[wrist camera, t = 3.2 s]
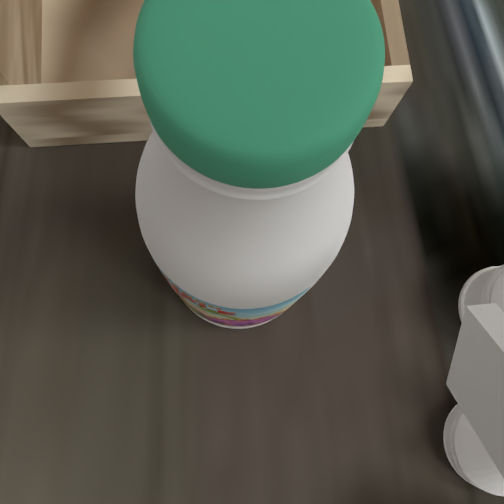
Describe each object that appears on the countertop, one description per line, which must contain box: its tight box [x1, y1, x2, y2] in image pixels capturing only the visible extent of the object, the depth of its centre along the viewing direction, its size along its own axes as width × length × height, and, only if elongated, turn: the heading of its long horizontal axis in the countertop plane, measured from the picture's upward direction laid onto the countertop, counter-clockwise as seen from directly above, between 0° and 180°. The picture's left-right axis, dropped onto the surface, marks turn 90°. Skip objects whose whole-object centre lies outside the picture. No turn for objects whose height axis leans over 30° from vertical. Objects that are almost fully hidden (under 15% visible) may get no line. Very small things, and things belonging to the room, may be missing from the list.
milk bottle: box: [133, 0, 385, 329], centre depth 18 cm, size 8×8×20 cm
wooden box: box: [0, 0, 413, 147], centre depth 27 cm, size 22×13×7 cm, turn 95°
